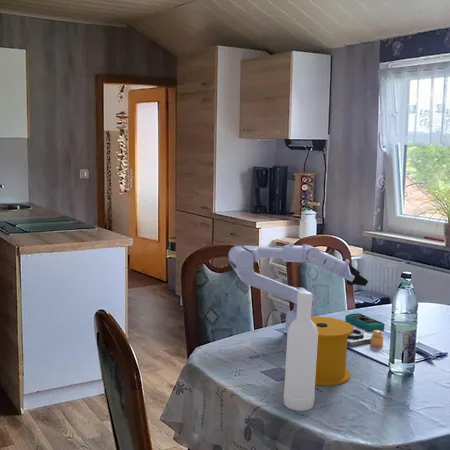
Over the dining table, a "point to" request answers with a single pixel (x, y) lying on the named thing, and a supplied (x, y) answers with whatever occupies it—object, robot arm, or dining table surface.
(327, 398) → the dining table surface
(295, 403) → the bottle
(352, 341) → the junction plate
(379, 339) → the orange rounded knob
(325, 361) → the spool
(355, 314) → the digital multimeter
